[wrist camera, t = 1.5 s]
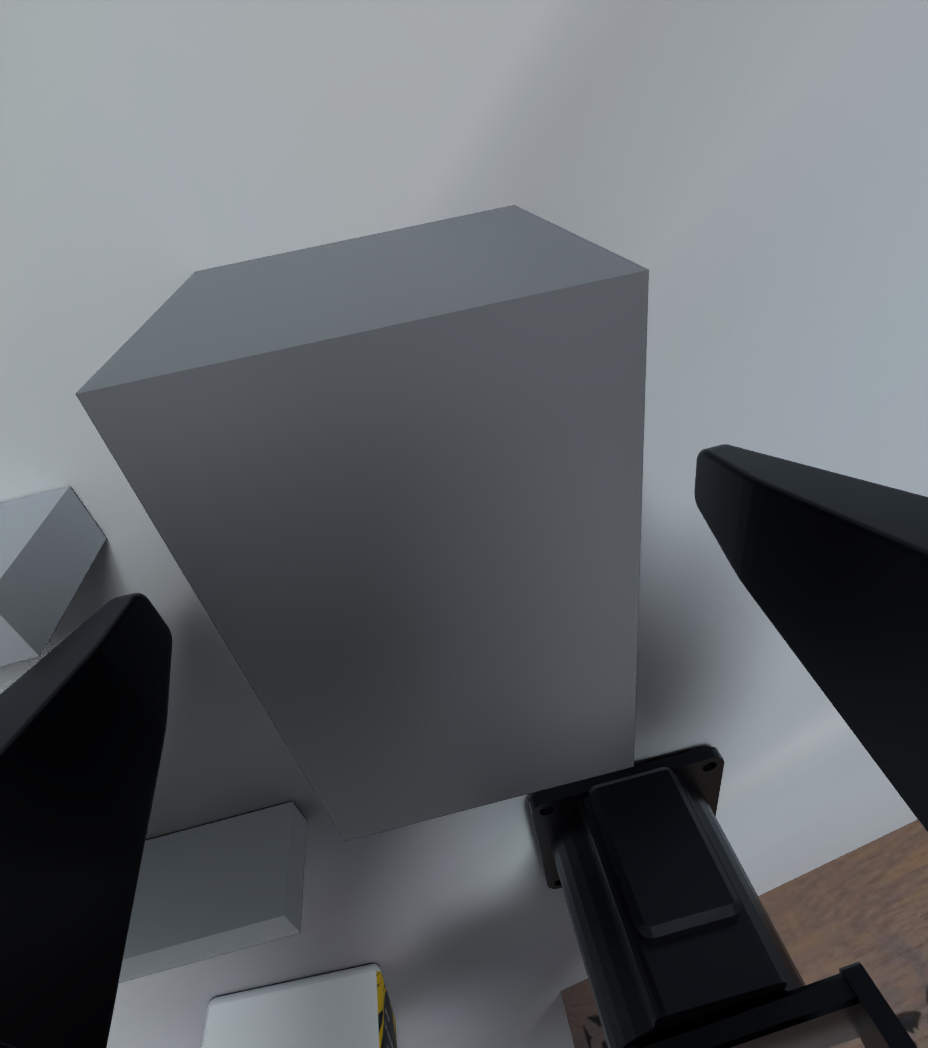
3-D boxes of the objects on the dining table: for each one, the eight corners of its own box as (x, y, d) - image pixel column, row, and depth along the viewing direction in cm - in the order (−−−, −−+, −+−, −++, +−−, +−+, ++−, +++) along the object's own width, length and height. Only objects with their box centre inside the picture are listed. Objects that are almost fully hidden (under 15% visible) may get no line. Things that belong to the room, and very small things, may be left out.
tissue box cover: (1038, 753, 25) (1373, 1058, 17) (1062, 844, 32) (1299, 1083, 24) (559, 985, 31) (633, 1283, 23) (673, 1015, 39) (758, 1247, 31)
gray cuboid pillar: (548, 577, 14) (633, 766, 10) (343, 627, 14) (344, 841, 10) (512, 204, 9) (648, 269, 5) (197, 269, 9) (74, 394, 5)
